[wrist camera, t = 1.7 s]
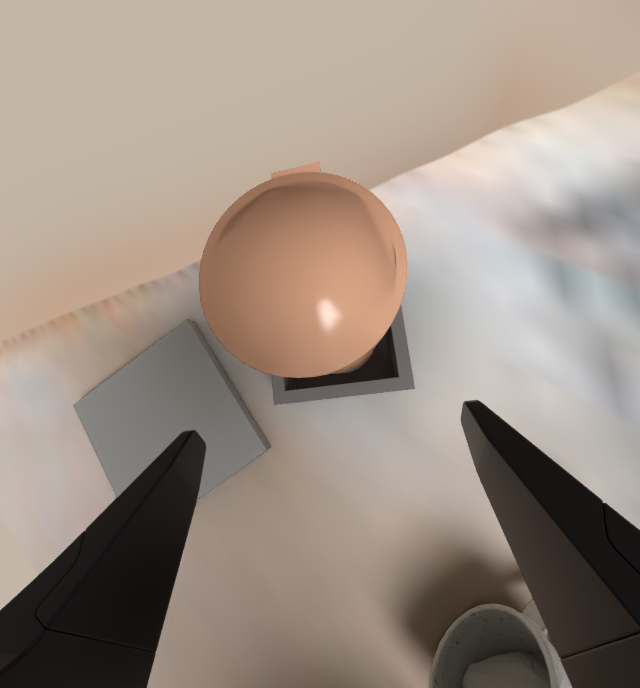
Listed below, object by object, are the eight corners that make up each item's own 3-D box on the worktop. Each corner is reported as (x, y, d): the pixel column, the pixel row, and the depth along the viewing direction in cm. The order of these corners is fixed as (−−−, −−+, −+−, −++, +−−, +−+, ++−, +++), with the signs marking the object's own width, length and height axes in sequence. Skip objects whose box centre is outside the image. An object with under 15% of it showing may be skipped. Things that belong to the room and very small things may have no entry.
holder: (407, 387, 20) (414, 388, 17) (286, 401, 21) (274, 404, 18) (388, 268, 21) (391, 251, 18) (275, 288, 23) (261, 274, 20)
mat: (271, 447, 21) (266, 450, 20) (147, 534, 22) (137, 541, 21) (194, 321, 23) (186, 319, 22) (85, 404, 24) (73, 405, 23)
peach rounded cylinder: (388, 372, 21) (425, 362, 8) (300, 383, 21) (205, 390, 9) (370, 263, 22) (379, 98, 9) (288, 277, 23) (190, 147, 10)
